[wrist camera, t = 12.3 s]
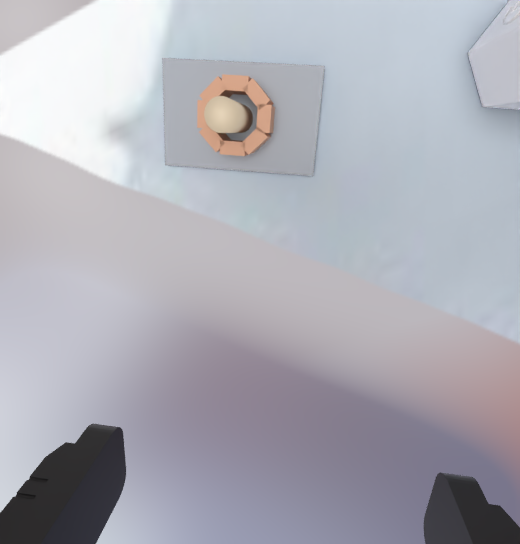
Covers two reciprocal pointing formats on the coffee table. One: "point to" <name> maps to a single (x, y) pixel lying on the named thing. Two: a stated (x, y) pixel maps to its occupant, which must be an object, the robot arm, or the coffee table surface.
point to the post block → (242, 115)
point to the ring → (228, 88)
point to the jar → (499, 60)
